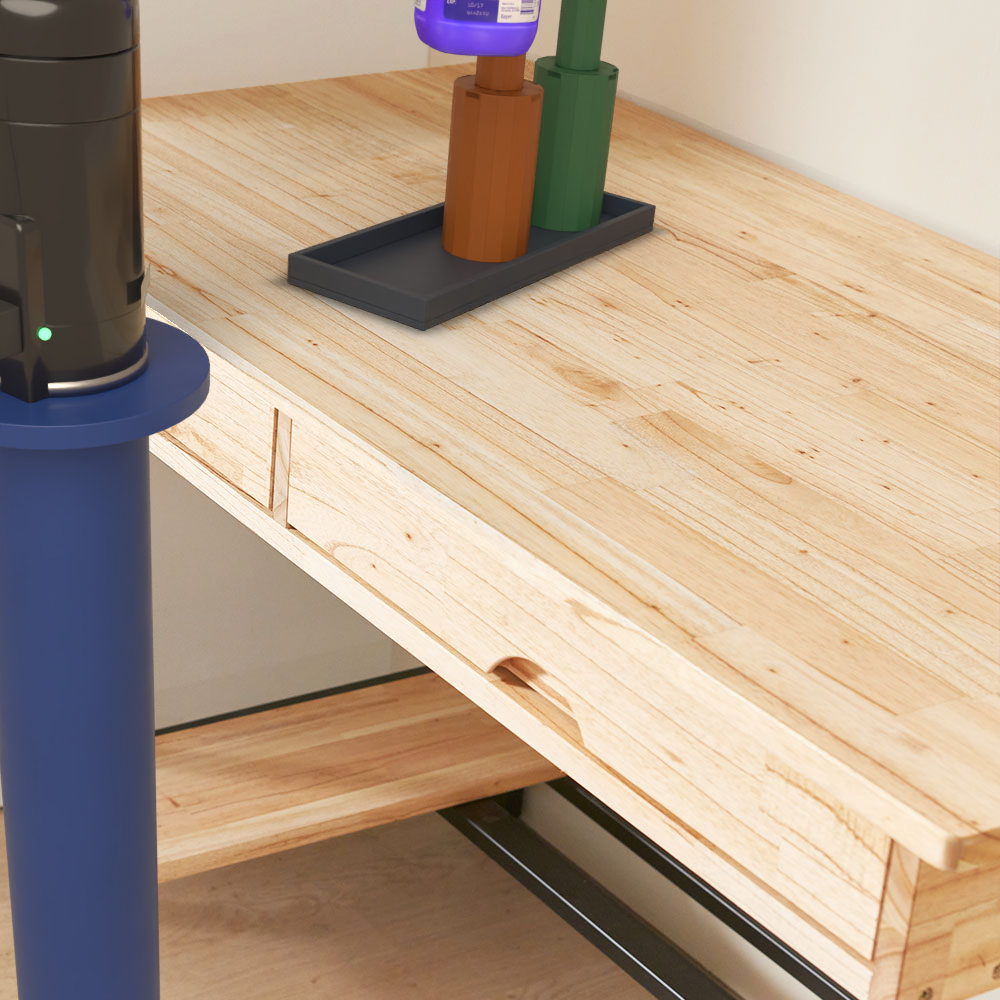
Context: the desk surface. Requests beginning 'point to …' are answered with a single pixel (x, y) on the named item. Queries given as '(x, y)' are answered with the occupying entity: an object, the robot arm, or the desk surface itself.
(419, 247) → the tray
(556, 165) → the green bottle
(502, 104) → the amber bottle
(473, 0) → the bottle
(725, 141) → the desk surface
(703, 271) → the desk surface
